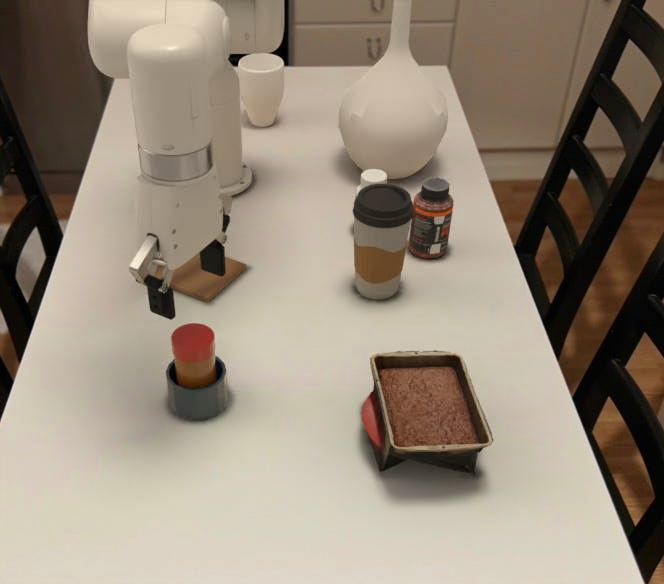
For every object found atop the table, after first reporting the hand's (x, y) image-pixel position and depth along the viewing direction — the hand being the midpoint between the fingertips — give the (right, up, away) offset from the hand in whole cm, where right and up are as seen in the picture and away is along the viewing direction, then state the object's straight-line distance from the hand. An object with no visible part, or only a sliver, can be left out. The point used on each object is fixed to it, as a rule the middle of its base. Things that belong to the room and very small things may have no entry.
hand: (188, 292), depth 105 cm
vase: (+29, +29, +56) cm, 69 cm away
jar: (0, -12, +12) cm, 17 cm away
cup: (0, -12, +12) cm, 17 cm away
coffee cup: (+24, +4, +30) cm, 39 cm away
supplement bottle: (+33, +11, +37) cm, 51 cm away
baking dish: (+27, -17, +7) cm, 33 cm away
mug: (+7, +42, +69) cm, 81 cm away
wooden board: (-3, +7, +32) cm, 33 cm away
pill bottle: (+24, +15, +41) cm, 50 cm away
